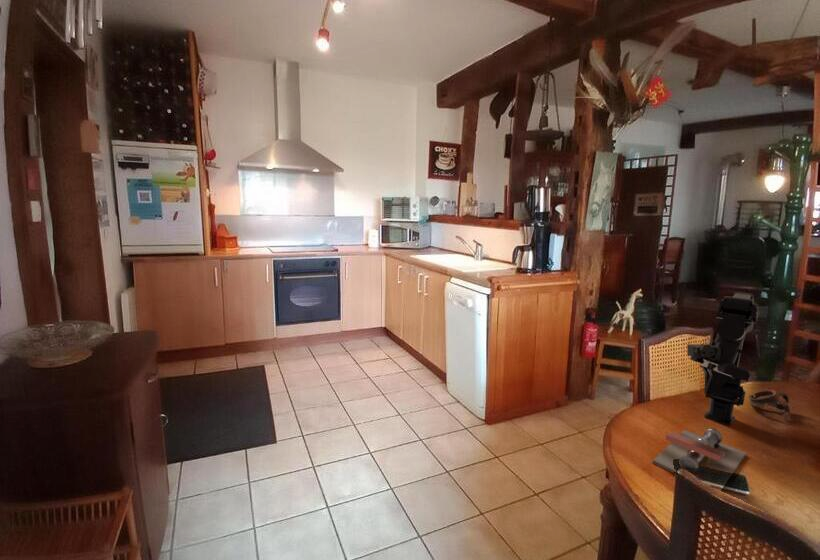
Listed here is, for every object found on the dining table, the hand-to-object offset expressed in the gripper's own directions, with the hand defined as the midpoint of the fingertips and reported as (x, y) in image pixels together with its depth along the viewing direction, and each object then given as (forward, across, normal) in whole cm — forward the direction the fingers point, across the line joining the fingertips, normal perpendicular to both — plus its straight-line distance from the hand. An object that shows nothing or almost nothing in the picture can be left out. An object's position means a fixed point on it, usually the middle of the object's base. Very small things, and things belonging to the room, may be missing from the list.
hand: (706, 394), depth 115 cm
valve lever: (+11, +12, -4) cm, 17 cm away
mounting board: (+16, +11, -2) cm, 20 cm away
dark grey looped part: (0, -21, +30) cm, 36 cm away
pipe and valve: (+15, +11, -2) cm, 18 cm away
